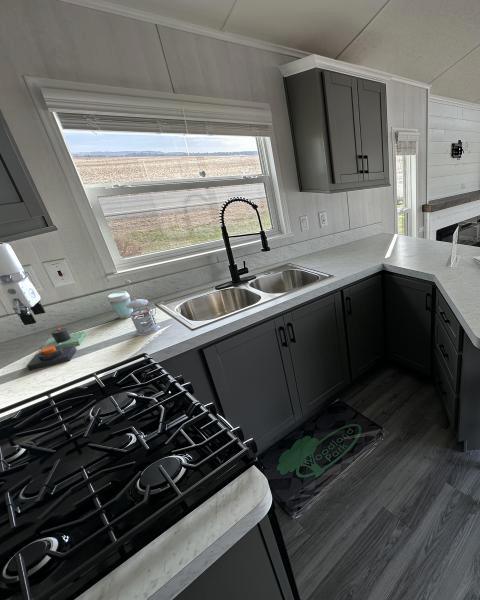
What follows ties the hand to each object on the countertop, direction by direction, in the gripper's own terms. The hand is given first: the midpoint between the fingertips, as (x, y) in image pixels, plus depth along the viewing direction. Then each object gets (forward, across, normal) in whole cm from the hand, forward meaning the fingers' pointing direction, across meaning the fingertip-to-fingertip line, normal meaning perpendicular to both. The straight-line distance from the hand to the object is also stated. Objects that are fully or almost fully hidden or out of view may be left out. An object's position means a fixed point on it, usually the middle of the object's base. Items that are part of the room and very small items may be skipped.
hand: (35, 318), depth 126 cm
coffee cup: (+18, +28, -20) cm, 39 cm away
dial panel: (+17, +11, 0) cm, 21 cm away
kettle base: (+17, -3, 0) cm, 18 cm away
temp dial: (+15, +11, 0) cm, 19 cm away
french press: (+18, +5, -31) cm, 36 cm away
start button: (+14, -3, 0) cm, 14 cm away
